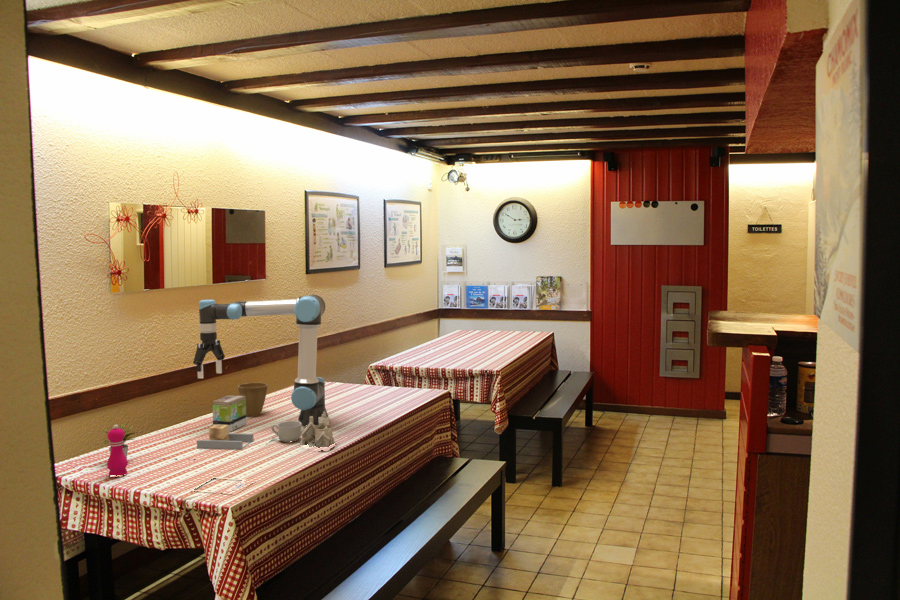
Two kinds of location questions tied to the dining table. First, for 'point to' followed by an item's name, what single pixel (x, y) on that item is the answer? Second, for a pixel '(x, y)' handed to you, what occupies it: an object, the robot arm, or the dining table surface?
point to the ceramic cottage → (318, 433)
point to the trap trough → (227, 442)
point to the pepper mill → (116, 452)
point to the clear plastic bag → (229, 488)
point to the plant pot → (253, 397)
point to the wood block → (219, 432)
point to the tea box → (230, 411)
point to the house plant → (125, 447)
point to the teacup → (288, 430)
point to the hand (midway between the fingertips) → (210, 375)
